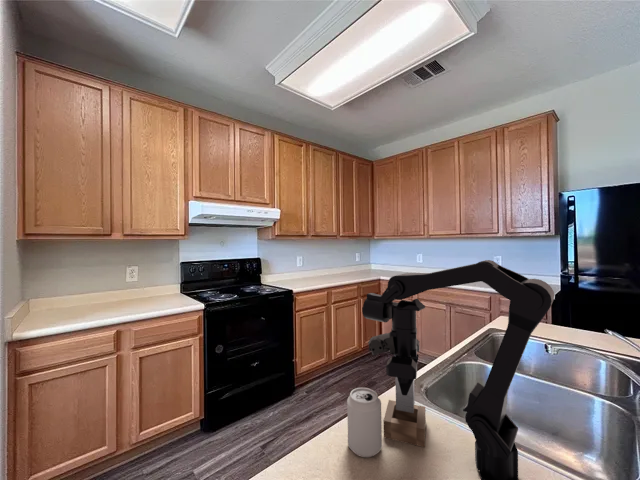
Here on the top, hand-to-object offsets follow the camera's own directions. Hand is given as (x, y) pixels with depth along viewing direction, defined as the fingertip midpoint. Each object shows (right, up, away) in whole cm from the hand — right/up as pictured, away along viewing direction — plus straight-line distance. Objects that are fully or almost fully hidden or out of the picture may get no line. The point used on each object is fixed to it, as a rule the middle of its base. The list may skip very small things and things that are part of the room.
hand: (405, 390), depth 69 cm
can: (-11, -10, -5) cm, 16 cm away
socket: (0, -10, 0) cm, 10 cm away
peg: (0, -4, 0) cm, 4 cm away
